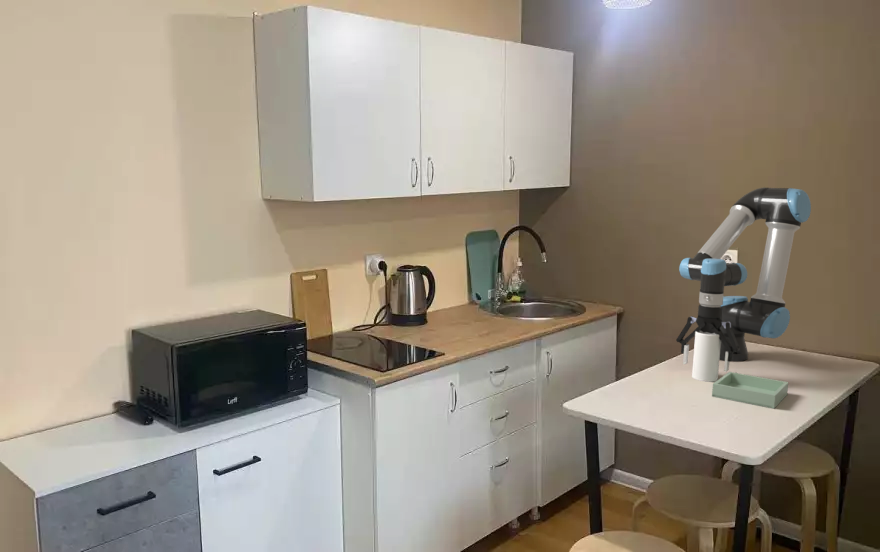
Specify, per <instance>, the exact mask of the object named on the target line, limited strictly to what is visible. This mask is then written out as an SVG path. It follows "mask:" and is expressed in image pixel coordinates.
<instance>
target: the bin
mask: <svg viewBox="0 0 880 552" xmlns="http://www.w3.org/2000/svg"><path fill="white" fill-rule="evenodd" d="M788 391H789V382H788V381H783V380H777V379H771V378H766V377H761V376H755V375H750V374H744V373H737V372H732V371H727V372H726V373H725V374H724V375H723V376H721V377H720V378H718V380H717V381H714V382H712V391H711V397H713V398H714V397H715V398H719V399H723V400H729V401H734V402H739V403H744V404H749V405H754V406H757V407H758V406H759V407H762V408H763V407H764V408H768V409H773V410H774V409H776V407H777V406H778V405H779V404H780V403H781V402H782V401H783V400H784V399H785V397H786V396H787V395H788Z"/></svg>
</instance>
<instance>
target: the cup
mask: <svg viewBox="0 0 880 552" xmlns="http://www.w3.org/2000/svg"><path fill="white" fill-rule="evenodd" d="M720 346H721V340H720V339H719V335H716V334H715V333H708V332H703V331H700V332H695V336H694V346H693V347H694V348H693V358H692V359H693V360H692V371H691V378H692V379H694V380H696V381H700V382H708V383H711V382H712V383H715V382H716V381H717V380H719V369H720V367H719V366H720V359H719V358H720Z"/></svg>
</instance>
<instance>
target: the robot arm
mask: <svg viewBox="0 0 880 552" xmlns="http://www.w3.org/2000/svg"><path fill="white" fill-rule="evenodd" d="M811 210H812V204H811V199H810V197H809V195H808V193H807V192H806V191H805V190H804V189H802V188H801V189H798V188H792V187H789V188H787V187H786V188H785V187H779V188H778V187H760V188H756V189H754V190H751V191H749V192H747V193H746V194H744V195H742V196H741V197H740V198H739V199H738V200H736V202H735V203H734V204H733V205H732V206H731V208H730V209H729V214H728V215H727V216H726V218H724V220H723V221H722V222H721V224H720V225H719V226H718V228H717V229H715V231H714V232H713V234H712V235H711V236H710V237H708V239H707V241H706V242H705V243H704V244H703V246H702V247H701V248H700V249H699V250H698V252H696V254H695V255H694V256H693V258H692V257H685V258H683V259H682V260H681V261H680V264H679V267H678V269H679V273H680V276H681V277H682V278H684V279H686V280H690V281H697V282H700V286H699V295H698V297H699V298H698V303H699V305H698V306H697V307H698V309H697V310H698V311H697V317H694V316H692V315H691V316H688V317H687V319H686V320H687V321H686V324H685V325H684V327H683V328H682V330H681V332H680V333H679V335H678V336H677V337H676V343H680V344H681V346H680V347H681V350H680V353H681V354H683V359H682V360H683V362H682V364H683V365H686V364H688V363H689V353H690V352H689V350H690V344H688V343H689V342H690V341H691V340H692V339H693V338H695V332H700V331H703V332H708V333H715V334H716V335H719V339H720V340H721V346H720V358H719V361H720V360H721V361H724V366H723V367H724V369H723V371H724V372H726V373H728V372H729V369H730V363H731V362H742V361H746V360H748V357H749V351H748V346H747V343H746V340H745V334H749V335H753V336H758V337H761V338H767V339H778V338H779V337H781V336H782V335H784V333H785V332H786V330H787V329H788V326H789V324H790V320H791V315H790V310H789V309H788V308H787V307H786V301H785V299H783V293H784V288H785V284H786V278H787V273H788V270H789V269H788V267H789V263H790V257H791V254H792V247H793V241H794V237H795V232H797V231H798V230H800V229H801V225H802V223H805V222H808V219H809V218H810V216H811ZM758 220H765V221H764V224H765V225H766V227H767V228H768V229H767V235H766V241H765V246H764V251H763V257H762V262H761V268H760V272H759V276H758V284H757V287H756V293H754V294H753V295H751V297H750V301H749V299H748V296H745V295H744V296H743V295H728V296H727V295H726V296H724V294H725V293H724V292H725V291H724V290H725V287H731V286H737V285H741V284H743V283H745V281H746V280H747V278H748V270H747V268H746V266H745V265H744V264H742V263H739V262H731V263H730V262H727V261H726V260H725V259H722V258H723V256H724V255H725V254H726V253H727V252H728V250H729V249H730V248H731V247H732V245H734V242H736V241H737V240H738V238H739V237H740V236H741V234H742V233H743V232H744V231H745V230H746V228H747V226H752V225H753V224H754V222H755V221H758ZM694 323H696V324H697V327H696V328H695V329H694V330H693V331H692V332H690V333H689V334H688V331H689V330H690V328H691V327H692V325H693V324H694ZM686 334H688V335H687V336H686ZM685 336H686V337H685Z"/></svg>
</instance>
